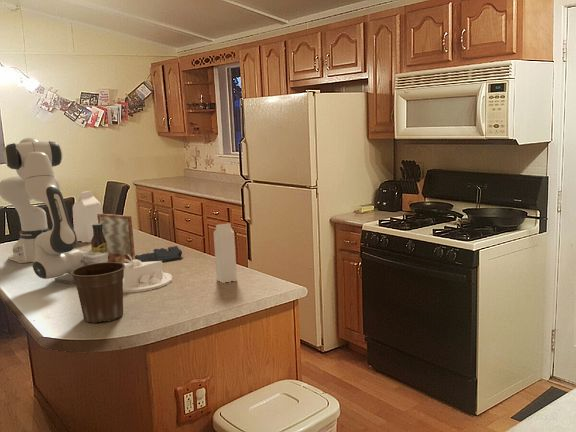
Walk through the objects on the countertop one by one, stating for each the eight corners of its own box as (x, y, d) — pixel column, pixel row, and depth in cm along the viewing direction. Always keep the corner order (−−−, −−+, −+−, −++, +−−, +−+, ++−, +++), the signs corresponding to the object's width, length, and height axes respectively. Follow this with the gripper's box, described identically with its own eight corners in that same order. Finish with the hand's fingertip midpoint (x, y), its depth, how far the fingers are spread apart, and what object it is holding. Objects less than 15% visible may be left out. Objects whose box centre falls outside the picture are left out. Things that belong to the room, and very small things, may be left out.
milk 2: (237, 281, 214) (234, 224, 210) (222, 283, 211) (219, 226, 207) (230, 277, 219) (227, 221, 215) (216, 280, 216) (212, 223, 212)
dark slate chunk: (128, 260, 254) (127, 250, 253) (175, 253, 265) (174, 243, 264) (137, 268, 241) (136, 257, 240) (186, 259, 251) (185, 249, 251)
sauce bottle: (104, 272, 234) (99, 225, 230) (90, 272, 235) (85, 225, 232) (112, 268, 240) (107, 222, 237) (98, 268, 241) (94, 222, 238)
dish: (113, 297, 201) (110, 267, 199) (101, 281, 223) (98, 253, 221) (180, 285, 212) (178, 256, 210) (162, 271, 234) (160, 244, 232)
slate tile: (54, 280, 224) (54, 278, 224) (75, 274, 233) (75, 271, 233) (71, 284, 219) (70, 281, 219) (92, 277, 228) (91, 274, 227)
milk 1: (88, 242, 294) (83, 193, 289) (74, 241, 300) (69, 192, 295) (107, 238, 304) (102, 190, 299) (93, 236, 310) (88, 189, 305)
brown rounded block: (113, 269, 238) (112, 258, 238) (121, 266, 242) (120, 255, 241) (121, 270, 236) (119, 259, 235) (129, 268, 240) (127, 256, 239)
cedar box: (70, 272, 236) (64, 220, 232) (104, 262, 251) (99, 213, 247) (102, 278, 226) (96, 223, 222) (136, 267, 241) (131, 216, 237)
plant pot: (65, 323, 176) (59, 273, 173) (99, 306, 191) (94, 260, 188) (107, 328, 170) (102, 277, 167) (139, 310, 185) (135, 263, 182)
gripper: (90, 255, 220) (117, 247, 231) (56, 250, 230) (84, 243, 242) (91, 270, 221) (119, 262, 232) (58, 265, 231) (86, 257, 243)
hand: (101, 252), depth 237 cm, fingers closed on sauce bottle, 6 cm apart
